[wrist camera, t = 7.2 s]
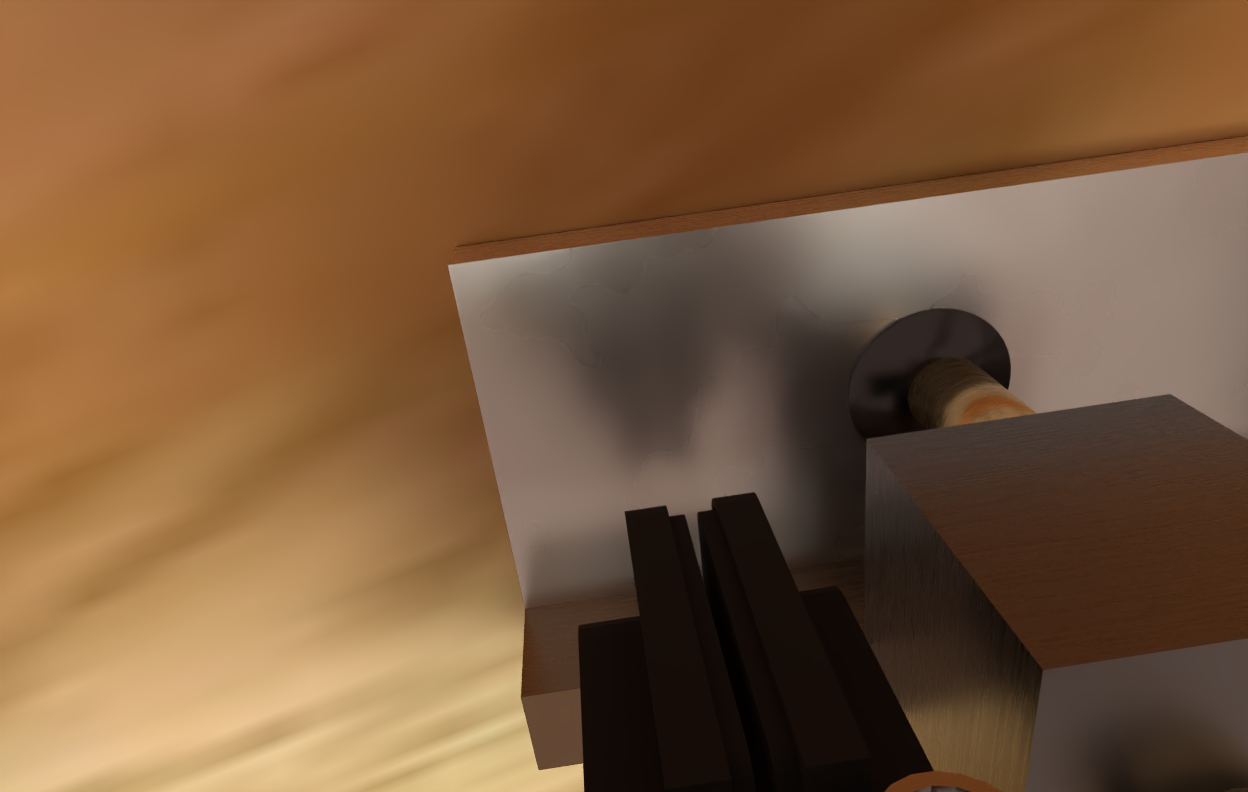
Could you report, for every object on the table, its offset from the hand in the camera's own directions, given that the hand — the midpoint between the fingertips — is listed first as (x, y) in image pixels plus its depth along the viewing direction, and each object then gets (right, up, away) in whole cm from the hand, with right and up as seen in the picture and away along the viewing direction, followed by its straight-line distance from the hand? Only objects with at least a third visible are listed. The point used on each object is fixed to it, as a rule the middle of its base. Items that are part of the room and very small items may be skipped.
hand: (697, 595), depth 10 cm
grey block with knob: (+4, +1, +3) cm, 5 cm away
